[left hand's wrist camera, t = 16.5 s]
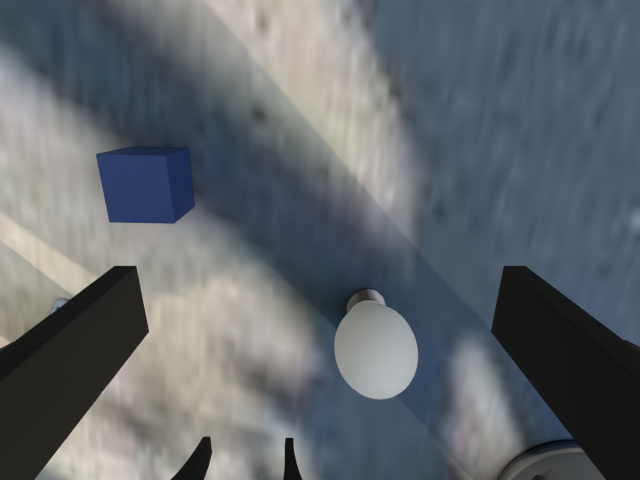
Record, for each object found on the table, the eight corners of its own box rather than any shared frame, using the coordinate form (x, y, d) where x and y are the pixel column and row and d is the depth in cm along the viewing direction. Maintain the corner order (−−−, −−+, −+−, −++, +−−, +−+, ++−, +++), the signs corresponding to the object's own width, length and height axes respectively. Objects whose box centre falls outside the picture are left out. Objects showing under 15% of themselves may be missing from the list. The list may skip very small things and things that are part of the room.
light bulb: (369, 344, 37) (389, 435, 27) (318, 311, 36) (318, 395, 25) (412, 298, 35) (451, 378, 25) (359, 262, 34) (377, 331, 23)
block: (188, 147, 30) (165, 155, 25) (194, 206, 32) (174, 223, 27) (129, 146, 30) (95, 154, 25) (139, 205, 32) (109, 222, 27)
